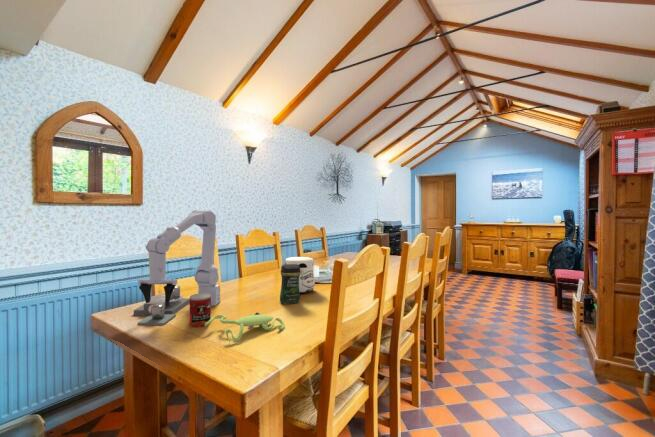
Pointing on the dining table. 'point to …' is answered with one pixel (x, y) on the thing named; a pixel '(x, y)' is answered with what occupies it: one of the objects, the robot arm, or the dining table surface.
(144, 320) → the rubber mat
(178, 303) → the scale housing
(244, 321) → the figurine
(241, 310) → the dining table surface
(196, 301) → the canned food
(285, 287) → the coffee jar
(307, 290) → the milk container
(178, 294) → the block
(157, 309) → the steel weight
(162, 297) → the scale pan
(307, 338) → the dining table surface
